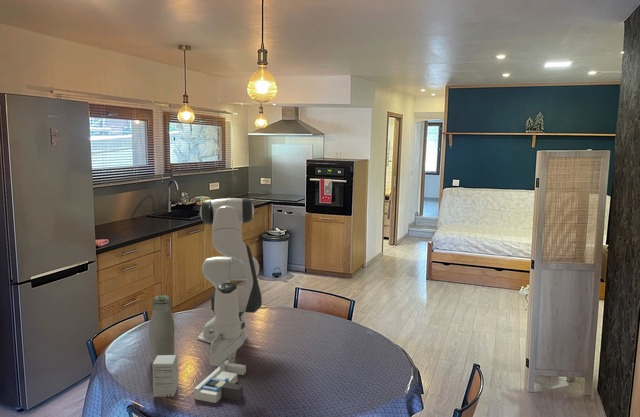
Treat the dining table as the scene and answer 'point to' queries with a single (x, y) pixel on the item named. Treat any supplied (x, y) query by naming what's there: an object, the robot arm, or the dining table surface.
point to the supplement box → (165, 375)
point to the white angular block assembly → (228, 375)
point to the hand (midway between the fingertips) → (227, 366)
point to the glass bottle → (161, 327)
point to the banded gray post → (228, 389)
